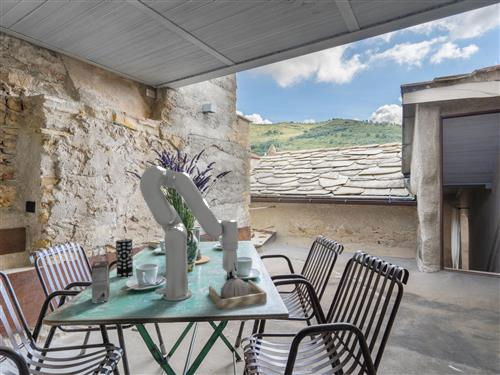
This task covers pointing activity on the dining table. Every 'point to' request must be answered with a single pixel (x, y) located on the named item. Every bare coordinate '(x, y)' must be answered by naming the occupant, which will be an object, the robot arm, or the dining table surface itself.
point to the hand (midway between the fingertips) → (231, 285)
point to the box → (241, 300)
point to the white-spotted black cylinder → (124, 257)
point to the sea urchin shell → (234, 288)
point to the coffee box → (100, 281)
